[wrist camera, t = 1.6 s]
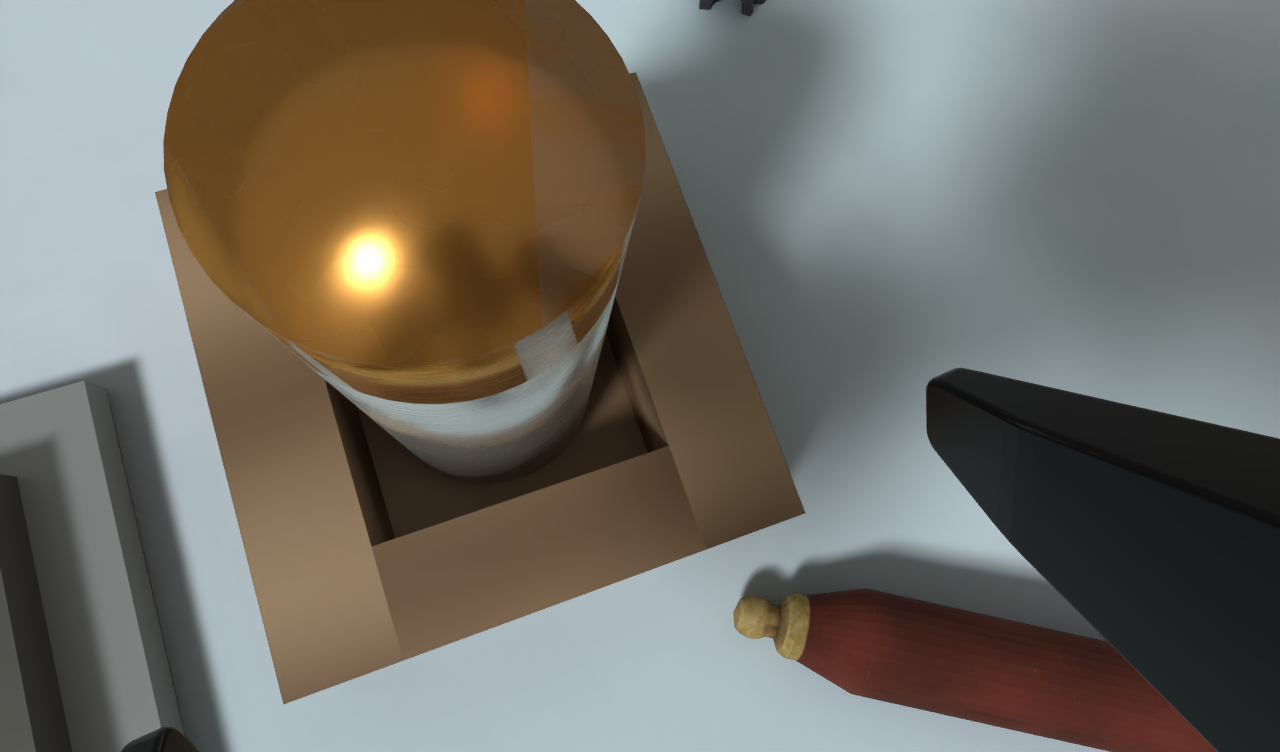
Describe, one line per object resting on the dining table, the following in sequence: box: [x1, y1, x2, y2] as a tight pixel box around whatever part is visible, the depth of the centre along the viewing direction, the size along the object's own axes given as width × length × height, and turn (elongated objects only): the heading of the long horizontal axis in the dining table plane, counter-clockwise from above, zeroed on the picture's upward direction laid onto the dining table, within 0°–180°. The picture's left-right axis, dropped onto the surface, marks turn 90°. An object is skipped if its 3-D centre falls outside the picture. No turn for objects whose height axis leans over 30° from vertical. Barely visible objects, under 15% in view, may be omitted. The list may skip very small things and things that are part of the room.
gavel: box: [733, 589, 1217, 752], centre depth 20 cm, size 21×5×10 cm
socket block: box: [155, 72, 805, 704], centre depth 19 cm, size 11×11×4 cm
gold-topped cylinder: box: [164, 0, 646, 483], centre depth 14 cm, size 5×5×12 cm
